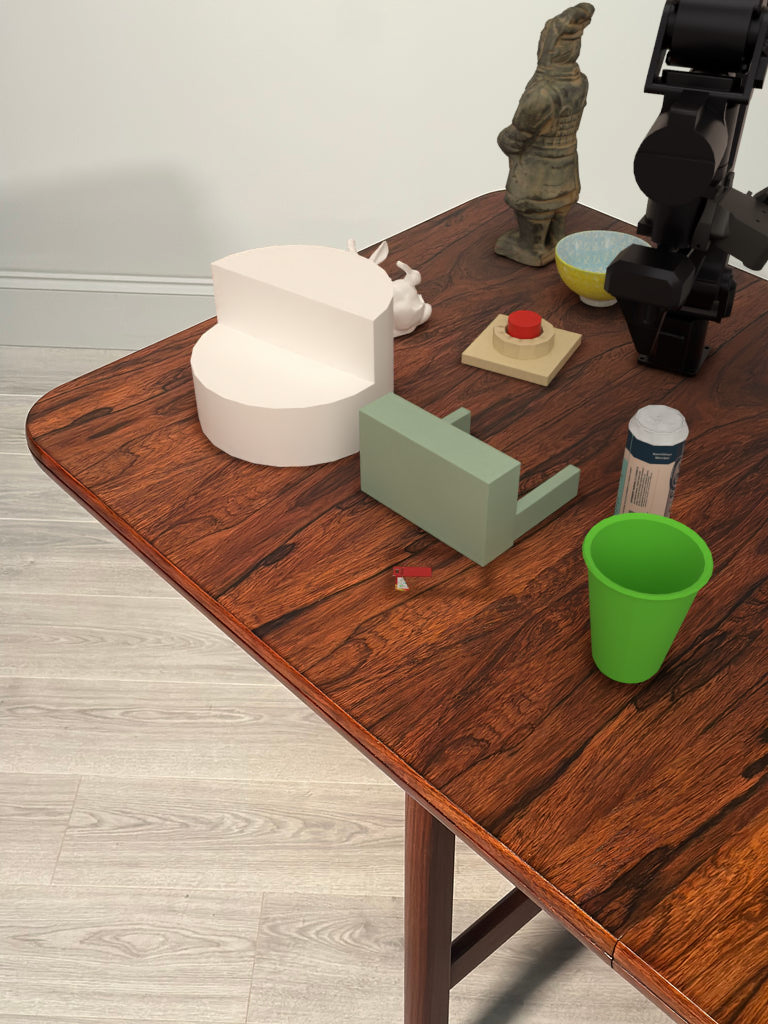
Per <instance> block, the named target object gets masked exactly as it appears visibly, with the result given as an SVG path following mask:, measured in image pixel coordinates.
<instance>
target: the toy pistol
mask: <svg viewBox="0 0 768 1024" xmlns="http://www.w3.org/2000/svg"><path fill="white" fill-rule="evenodd" d="M432 569H433V567H432V566H431V567H429V566H393V568H392V571H393V573H392V577H395V585H394V588H395V591H410V587H408V585H407V583H406V581H405V579H404V577H406V578H409V577H410V578H411V577H413V578H433V575H432ZM396 571H398V572H396Z"/></svg>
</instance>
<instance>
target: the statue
mask: <svg viewBox="0 0 768 1024" xmlns="http://www.w3.org/2000/svg"><path fill="white" fill-rule="evenodd" d="M595 11H596V8H595V6H594V5H593V4H591V2H584V1H582V2H579V3H577V4H575V5H573V6H570V7H567V8H566V9H565V10H563V11H562V12H561V13H559V14H557V15H555V16H554V17H552V18H549V19H547V20H546V21H545V23H544V27H543V28H542V29H541V31H540V34H539V39H538V43H537V52H536V57H537V58H536V59H537V62H536V69H535V70H534V73H533V75H532V76H531V78H530V79H529V80H528V82H527V84H526V85H525V87H524V91H523V93H522V94H521V96H520V98H519V100H518V105H517V107H516V110H515V111H514V114H513V117H512V120H511V123H510V124H509V125H508V126H506V127H504V128H503V129H502V130H500V132H499V133H498V135H497V137H496V143H497V146H498V147H499V149H500V150H501V152H502V153H503V154H504V155H505V156H506V157H507V159H508V173H507V178H506V183H505V190H506V191H505V194H504V197H503V201H504V204H506V205H507V206H508V207H509V208H510V209H513V213H514V215H515V219H516V221H517V227H516V228H514V229H512V230H507V231H505V232H503V233H502V234H501V235H500V237H498V238H497V239H496V241H495V244H494V248H493V252H494V253H495V254H497V255H499V256H504V257H506V258H508V259H510V260H513V261H515V262H517V263H520V264H523V265H527V266H533V267H543V266H546V265H548V264H550V263H552V262H554V261H556V259H555V248H556V245H557V244H558V242H559V241H560V240H561V239H563V238H565V237H566V236H567V235H566V223H567V219H568V215H569V211H570V210H571V209H572V206H573V205H575V204H577V203H578V202H579V200H580V194H581V191H582V185H581V178H580V165H579V164H580V163H579V153H578V137H577V133H578V131H579V129H580V125H581V121H582V119H583V118H582V117H583V114H584V110H585V108H586V106H587V104H588V102H587V98H588V93H589V89H590V87H589V86H590V82H589V79H588V76H587V74H585V73H584V72H582V71H581V68H580V65H579V63H578V62H577V60H578V59H579V57H580V56H581V55H580V54H581V48H582V37H583V35H584V33H585V32H584V31H585V29H586V28H587V27H588V26H589V25H590V24H591V23H592V21H593V20H592V18H593V16H594V14H595ZM495 245H496V246H498V247H501V248H502V249H505V250H508V251H511V252H514V253H515V254H514V253H511V252H508V251H505V250H502V249H499V248H496V247H495Z"/></svg>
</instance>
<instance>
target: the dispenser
mask: <svg viewBox="0 0 768 1024" xmlns="http://www.w3.org/2000/svg"><path fill="white" fill-rule="evenodd" d="M471 417H472V411H471V410H469V409H467V408H465V407H463V406H461V407H459V408H458V409H455V410H454V411H452V412H450V413H449V414H447V415H446V416H444V417H442V418H440V417H439V416H436V415H434V414H432V413H431V412H429V411H427V410H425V409H423V408H421V407H420V406H418V405H416V404H414V403H413V402H410V401H409V400H407V399H405V398H403V397H401V396H400V395H398V394H396V393H392V392H390V393H388V394H386V395H384V396H382V397H380V398H379V399H377V400H375V401H373V402H371V403H370V404H368V405H366V406H364V407H362V408H360V409H359V438H360V451H359V467H360V468H359V469H360V471H359V473H360V491H361V492H363V493H365V494H366V495H368V496H370V497H371V498H373V499H374V500H375V501H378V503H380V504H382V505H383V506H385V507H387V508H389V509H390V510H392V511H393V512H395V513H396V514H398V515H400V516H401V517H403V518H405V519H406V520H407V521H409V522H411V524H414V525H415V526H417V527H418V528H420V529H422V530H423V531H425V532H426V533H428V534H429V535H431V536H433V537H434V538H436V539H438V540H439V541H441V542H442V543H444V544H445V545H447V546H449V547H450V548H451V549H453V550H455V551H456V552H459V553H460V554H461V555H463V556H464V557H466V558H468V559H469V560H471V561H472V562H474V563H476V564H477V565H479V566H480V567H482V568H484V567H485V566H487V565H488V564H489V563H491V562H492V561H494V560H495V559H496V558H498V557H499V556H501V555H502V554H503V553H505V552H506V551H507V550H509V549H510V548H511V547H513V546H514V542H515V541H516V540H517V539H519V538H520V537H521V536H523V535H524V534H526V533H527V532H529V531H530V530H532V529H533V528H534V527H535V526H537V525H538V524H539V523H541V522H542V521H544V520H545V519H547V518H548V517H549V516H551V515H552V514H553V513H555V512H556V511H557V510H559V509H560V508H561V507H563V506H564V505H566V504H567V503H568V502H570V501H571V500H572V499H574V498H576V496H578V493H579V485H580V484H579V483H580V477H581V471H582V470H581V469H580V468H579V467H577V466H575V465H573V464H571V463H570V464H568V465H567V466H565V467H564V468H563V469H562V470H560V471H558V472H557V473H556V474H554V475H553V476H551V477H549V478H548V479H547V480H545V481H544V482H543V483H541V484H539V485H538V486H537V487H535V488H534V489H532V490H531V491H530V492H528V493H527V494H525V495H524V496H522V497H521V498H520V499H518V498H519V487H520V486H519V485H520V477H521V476H520V475H521V467H522V463H521V461H519V460H517V459H515V458H513V457H512V456H510V455H508V454H506V453H504V452H503V451H501V450H499V449H497V448H495V447H493V446H492V445H489V444H488V443H486V442H484V441H482V440H480V439H479V438H477V437H475V436H473V435H471V420H472V419H471Z"/></svg>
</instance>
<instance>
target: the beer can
mask: <svg viewBox="0 0 768 1024" xmlns="http://www.w3.org/2000/svg"><path fill="white" fill-rule="evenodd" d="M689 432H690V431H689V426H688V423H687V421H686V417H685V416H684V415H683V414H682V413H681V412H680V411H679V410H678V409H676V408H673V407H670V406H667V405H664V404H649V405H646V406H644V407H642V408H639V409H638V410H637V411H636V413H634V415H633V416H632V417H631V418H630V420H629V422H628V430H627V436H626V442H625V447H624V453H623V458H622V466H621V471H620V476H619V483H618V488H617V494H616V501H615V506H614V512H613V516H614V515H619V514H625V513H648V514H656V515H660V516H663V517H667V518H670V516H671V511H672V507H673V501H674V497H675V492H676V488H677V483H678V478H679V473H680V470H681V469H680V468H681V464H682V460H683V456H684V451H685V446H686V442H687V438H688V436H689Z"/></svg>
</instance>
